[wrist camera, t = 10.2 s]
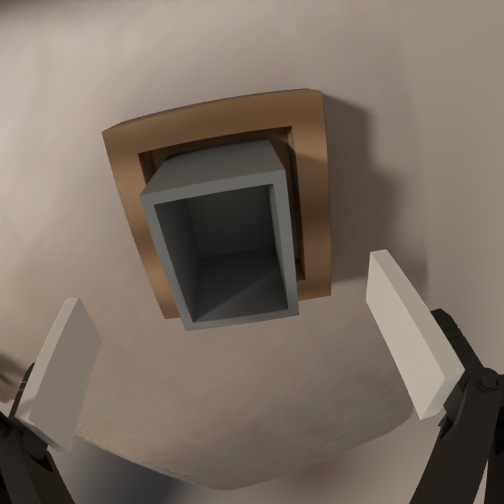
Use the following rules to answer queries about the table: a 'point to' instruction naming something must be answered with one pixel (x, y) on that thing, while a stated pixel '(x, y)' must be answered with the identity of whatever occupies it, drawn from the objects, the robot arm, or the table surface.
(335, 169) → the table surface
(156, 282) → the walnut crate
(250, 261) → the grey open box
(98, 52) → the table surface
